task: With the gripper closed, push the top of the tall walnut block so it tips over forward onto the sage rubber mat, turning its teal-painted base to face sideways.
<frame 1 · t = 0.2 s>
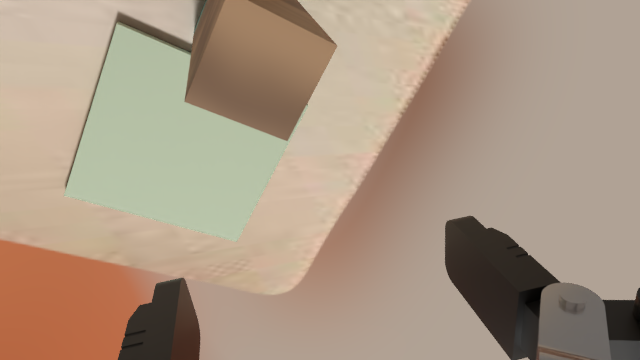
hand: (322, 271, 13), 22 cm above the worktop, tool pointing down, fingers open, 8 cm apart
walnut block: (243, 12, 30), on the worktop
sage mat: (186, 147, 34), on the worktop
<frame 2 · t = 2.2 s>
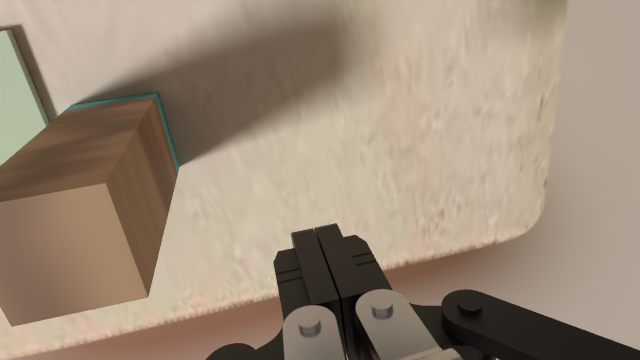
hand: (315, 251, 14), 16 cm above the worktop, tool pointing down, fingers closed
walnut block: (128, 137, 27), on the worktop
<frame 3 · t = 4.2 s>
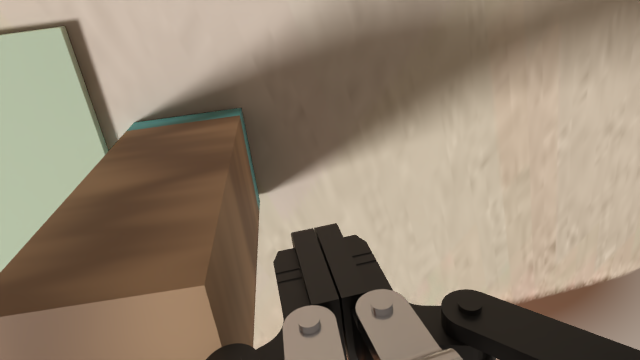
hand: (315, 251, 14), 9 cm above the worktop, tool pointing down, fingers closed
walnut block: (200, 163, 22), on the worktop, tilted 6°
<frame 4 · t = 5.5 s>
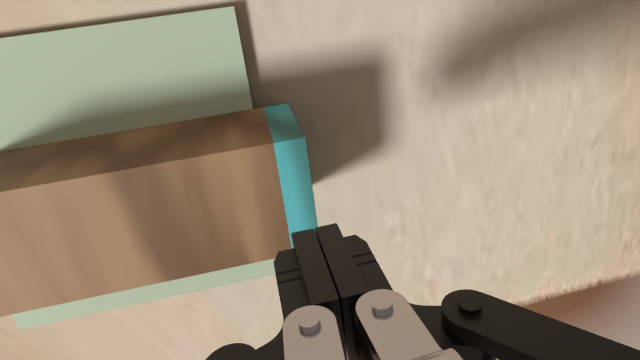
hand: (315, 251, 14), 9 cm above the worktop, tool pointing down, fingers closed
walnut block: (303, 171, 20), point 3 cm above the worktop, tilted 90°, touching sage mat
sage mat: (118, 179, 21), on the worktop
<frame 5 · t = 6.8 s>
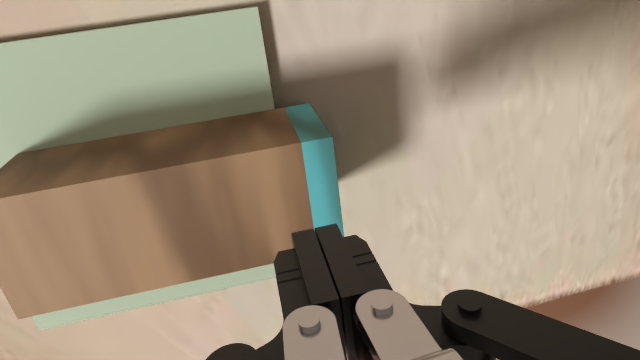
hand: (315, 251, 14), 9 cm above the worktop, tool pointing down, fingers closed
walnut block: (326, 171, 20), point 3 cm above the worktop, tilted 90°, touching sage mat
sage mat: (139, 180, 21), on the worktop
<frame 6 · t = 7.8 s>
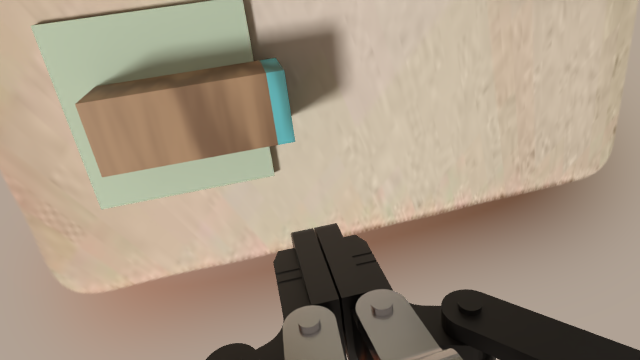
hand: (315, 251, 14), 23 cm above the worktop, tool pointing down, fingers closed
walnut block: (284, 98, 32), point 3 cm above the worktop, tilted 90°, touching sage mat
sage mat: (168, 107, 34), on the worktop
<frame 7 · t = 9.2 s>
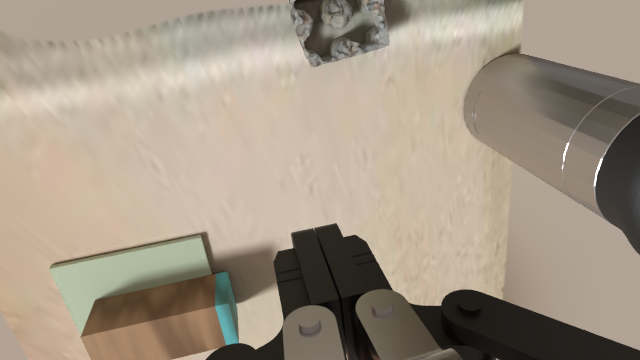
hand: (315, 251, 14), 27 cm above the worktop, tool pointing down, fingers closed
walnut block: (233, 306, 44), point 3 cm above the worktop, tilted 90°, touching sage mat
sage mat: (148, 305, 46), on the worktop
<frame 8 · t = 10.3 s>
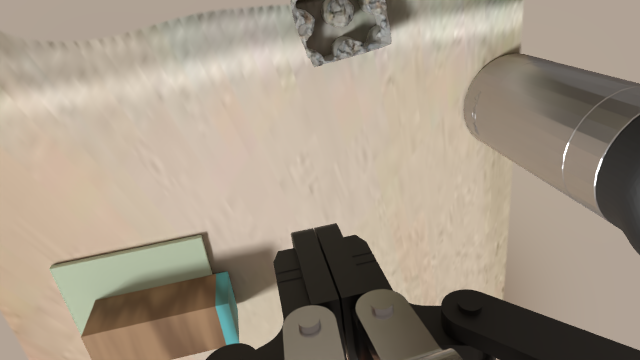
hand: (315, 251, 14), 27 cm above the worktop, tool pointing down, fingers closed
walnut block: (233, 306, 44), point 3 cm above the worktop, tilted 90°, touching sage mat
sage mat: (148, 305, 46), on the worktop
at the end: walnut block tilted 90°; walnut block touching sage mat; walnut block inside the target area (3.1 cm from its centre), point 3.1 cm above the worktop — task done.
